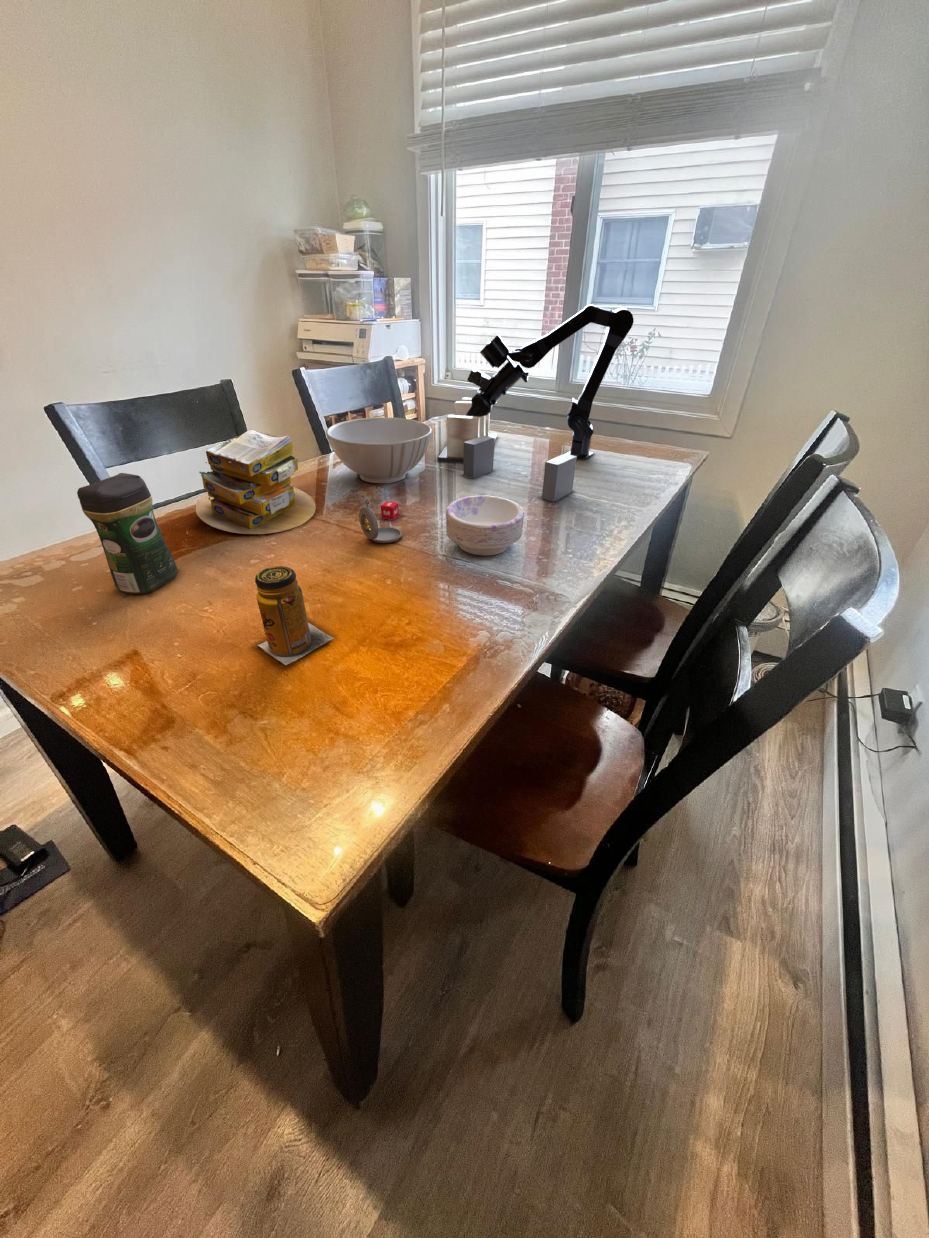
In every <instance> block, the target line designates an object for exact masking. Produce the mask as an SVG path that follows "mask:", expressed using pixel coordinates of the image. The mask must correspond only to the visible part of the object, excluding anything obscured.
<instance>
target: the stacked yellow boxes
mask: <svg viewBox="0 0 929 1238" xmlns="http://www.w3.org/2000/svg"><path fill="white" fill-rule="evenodd" d="M205 450H206V451H205V455H206V459H207V461H205V462H204V463H205V464H207V463H208V465H209V467H210V471H207V472H206V471H199V472H198V474H199V475H200V476H201V481H202V486H203V490H206V493H204V494H203V495H202V496H201V497H199V498H198V500H197V502H196V504H195V513H196V515H197V517H198V518H199V519H200V520H201V521H202V522H203V523H205V524H207V525H209V526H210V527H212V528H215V529H218V530H221V531H225V532H229V533H236V534H242V535H267V534H273V533H275V534H276V533H280V532H284V531H285V532H286V531H288V530H292V529H295V528H297V527H300V526H302V525H303V524H305V523H306V522H307V521H309V520H310V519H311V518H313V516H314V514H315V512H316V509H317V505H316V502H315V500H314V499H313V498H312V497H311V496H310V494H308V493H307V492H305V491H303V490H301V489H298V488H297V487H294V486H292V485H291V483H292V476H293V475H294V474H295V472H297V471H298V470H299V463H298V458H297V456H293V455H294V453H295V451H294V441H293V440H292V439H291V437H290V436H289V435H284V436H277V435H273V434H269V433H263V432H262V431H256V430H253V429H248V430H246V432H244V433H242V434H240V435H236V436H234V437H232V438H229V439H228V438H227V439H226V440H225V441H224V442H223V443H219V444H217V445H215V446H213V447H210V448H206V449H205Z"/></svg>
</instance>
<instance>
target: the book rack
mask: <svg viewBox="0 0 929 1238" xmlns="http://www.w3.org/2000/svg"><path fill="white" fill-rule="evenodd" d="M472 398H473V397H462V398H461V401H471V399H472ZM490 420H491V412H490V413H489V414H488V415H487V416H486V423H485V436H489V437H493V438H495V441H496V440H497V438H498V433H494V432H490V424H491V423H490V422H491V421H490ZM479 429H480V417H476V416H457V415H455V414H454V415H453V414H448V415H447V416H446V444H445V446H444V448H443V449H442V450H441V452H440V453H439V455H438V456H437V462H439V463H440V462H441V463H442V462H444V463H458V464H463V457H464V442H466V441H469V440H472V439H475V438H478V437H479Z"/></svg>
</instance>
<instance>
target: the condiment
mask: <svg viewBox="0 0 929 1238" xmlns="http://www.w3.org/2000/svg"><path fill="white" fill-rule="evenodd" d="M254 583H255V586H256V591H257V592H256V603H257V606H258V609H259V613H260V617H261V621H262V626H263V631H264V635H265V638H266V640H265V641H264V642H262V643H261V642H260V643H259V644H257V646H258V647H259V648H261V649H262V650H263V651H264V652H265V653H267V654H268V655H270V656H271V657H272V658H274V659H275V660H276V661H278V662H280V663H282V665H284V666H288V665H290V664H291V663H294V662H296V661H298V660H299V659H300V658H301V659H302V658H303V657H305V656H306V655H309V653H311V652H313V651H315V650H316V649H318V648H320V647H322V646H323V645H325V644H327V643H328V642H330V641H331V640H334V639H335V637H333V636H332V635H330V634H327V633H326V632H324V631H323V630H321V629H320V628H317V627H316V626H315V625H312V623H310V622H309V620H308V615H307V609H306V603H305V600H304V599H305V598H304V594H303V590H302V588H301V586H300V585H299V582H298V579H297V574H296V572H295V570H294V569H292V568H290V567H288V566H284V565H283V566H282V565H279V566H278V565H276V566H270V567H266V568H264V569H262V570H261V571H259V572H258V573H257V574H256V575H255V578H254Z"/></svg>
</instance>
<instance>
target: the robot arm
mask: <svg viewBox="0 0 929 1238" xmlns="http://www.w3.org/2000/svg"><path fill="white" fill-rule="evenodd" d="M634 320H635V319H634V315H633V313H632V312H631V311H630V310H629V309H627V308H625V307H619V308H616V309H615V310H613V309H609V308H604V307H600V306H596V305H594V304H587V305H585V306H584V307H583V309H581V310H580V311H579V312H577V313H576V314H574V315H572V316H571V317H570V318H568V319H567V320H566V321H564V322H562V324H560V325H558V326H557V327H555V329H552V330H551V331H550V332H549V333H547V334H545V335H542V336H540V337H539V338H536V339H534V340H532V341H529V342H527V343H525V344H524V345H523V346H522V347H519V348H511V349H510V348H509V346H508V345H507V344H506V343H505V341H504V340H503V337H501V336H500V334H496V336H494V338H493V339H492V340H491V341H489V342H487V344H486V345H485V346H484V347H483V348H482V349H481V350H479V351H480V352H479V354H480V355H481V356H482V357H483V358H484V359H485V361H486V362H487V363H488V364H489V365H490V367H491V368H492V369H494V368H497V369H499V370H498V371H497V372H496V373H495V374H492V375H491V376H489V375H488V374H486V373H484V372H483V371H481V370H479V369H478V368H476V367H473V368H471V370H470V372H469V374H468V376H467V379H466V381H467V382H469V383H470V384H471V383H472V384H473V385H476V386H477V387H479V388H478V390H477V391H476V393H475V394H474V395H473V396H472V397H471V398H472V399H471V402H472V406H471V408H470V409H469V411H468V412H467V414H466V415H465V416H476V417H482V416H487V415H488V414H489V413H490V414H491V412H492V410H493V406H495V405H496V404H497V403H498V401H499V400H500V399H501V398H503V396H505V395H506V394H507V393H508V391H509V390H511V388H512V387H514V386H515V385H516V384H517V383H518V382H519V381H520V380H521V379H522V380H523V381H524V383H528V380H529V374H530V371H529V370H524V368H526V369H531V368H534V367H535V366H536V365H538V363H539V362H541V360H542V359H543V358H545V357H546V356H547V354H549V352H551V351H552V350H553V349H554V348H556V347H557V346H558V345H559V344H561V343H563V342H564V341H566V340H567V339H568V338H570V337H571V336H573V335H575V334H576V333H577V332H579V331H580V330H581V329H583V328H585V327H586V326H588V325H589V324H591V323H592V324H595V325H599V326H603V327H606V330H605V335H604V339H603V343H602V345H601V348H600V349H599V352H598V355H597V357H596V359H595V361H594V364H593V365H592V368H591V370H590V373H589V375H588V377H587V380H586V382H585V385H584V387H583V389H582V391H581V393H580V395H579V396H578V397H577V399H576V398H575V397H572V398H571V402H570V406H569V408H568V409H566V416H567V426H568V428H569V429H570V430H572V431H573V432H572V435H571V442H570V443H571V444H570V450H569V451H568V452H566V453H565V454H569V455H573V456H577V459H583V460H585V459H588V458H590V457H591V456H592V455H594V452H593V451H591V445H592V439H593V434H594V426H593V423H592V422H591V421H590V420H589V419H590V414H591V411H592V406H593V402H594V400H595V397H596V395H597V393H598V390H599V388H600V386H601V384H602V382H603V380H604V377H605V375H606V373H607V371H608V369H609V366H610V364H611V362H612V360H613V357H614V356H615V353H616V351H617V349H618V348H619V347H620V345H621V344H622V343H623V341H624V340H625V338H626V337H627V335H628V334H629V332H630V331H631V329H632V328H633V325H634V323H635V322H634ZM506 361H507V362H506ZM505 362H506V363H505ZM515 362H516V363H517V364H516V363H515ZM502 365H503V366H502ZM500 367H501V368H500Z"/></svg>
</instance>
